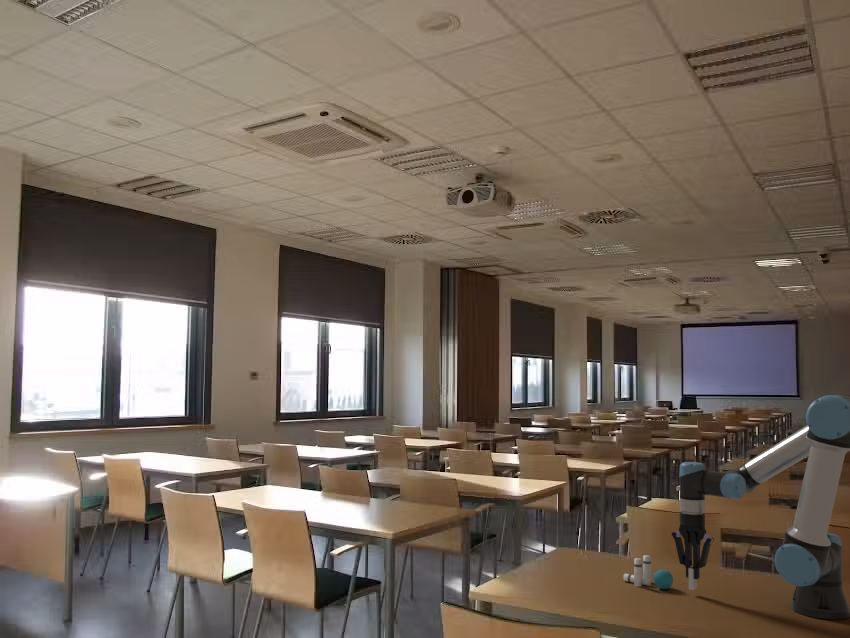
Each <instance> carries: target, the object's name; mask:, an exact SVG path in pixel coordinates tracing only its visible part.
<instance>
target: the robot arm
mask: <svg viewBox="0 0 850 638" xmlns="http://www.w3.org/2000/svg"><path fill="white" fill-rule="evenodd" d="M805 421H806V425H805V426H803V427H802V428H800V429H799V430H797V431H795V432H794V433H792V434H791V435H789V436H787V437H786V438H784V439H782V440H781V441H779V442H778V443H776V444H774V445H772V446H771V447H769V448H768V449H766V450H763V452H761V453H760V454H758V455H756V456H755V457H753V458H751V459H750V460H749V461H746V462H745V463H743V464H741V465H740V466H738V467H737V468H736V469H731V470H725V471H714V470H713V471H712V470H706V468H705V467H706V466H705V464H704V463H702V462H697V461H684V462H683V461H682V462H681V463H680V465H679V474H678V478H679V510H680V512H679V526H678V530H676V531H673V532H671V536H672V538H673V539H674V541H675V547H676V552H677V557H678V561H679V564H680V565H683V566H684V567H685V577H686V578H687V579H688V590H689V591H695V590H696V589H698V580H699V579H700V577H701V575H700V574H701V572H700V569H703V568H705V567H706V566H707V562H708V557H709V554H710V549H711V545H712V543H713V542H714V540H715V539H714V537H712V536H710V535H709V534H708V533H707V530H706V514H705V512H706V496H712V497H718V498H725V499H728V500H731V499H734V500H740V499H742V498H743V497H744V496H745V494H747V493H750V492H752V491H754V490H756V488H758V487H759V486H760V485H762V484H763V483H765V482H766V481H768V480H770V479H772V478H773V477H774V476H777V475H778V474H780V473H782V472H783V471H785V470H786V469H789V468H791V467H792V466H793V465H795V464H797V463H799V462H801V461H803V460H804V459H805V458H807V461H806V467H805V470H804V476H803V479H802V485H801V488H800V489H801V490H800V494H799V497H798V502H797V507H796V510H795V516H794V519H793V520H794V521H793V524H792V526H790V527H788V528H786V530H785V533H784V537H783V542H782V545H780V546H779V547H778V548H777V550H776V552H775V554H774V566H775V569H776V571H777V572H778V574H779V576H780V577H781V578H782V579H783V581H786V582H787V583H788V584H790V585H793V586H796V587H795V590H794V593H793V595H792V598H791V609H792V610H793V611H794V612H796V613H798V614H801V615H804V616H808V617H812V618H818V619H824V620H846V619H848V618H850V605H849V604H848V601H847V597H846V594H845V592H844V588H843V562H842V561H843V555H842V554H843V552H842V550H843V545H842V538H841V536H839V535H838V534H835V533H830V532H828V531H829V526H830V524H831V518H832V514H833V508H834V505H835V501H836V496H837V490H838V487H839V483H840V478H841V473H842V468H843V465H844V460H845V456H846V454H847V453H849V452H850V395H849V394H840V395H839V394H828V395H823V396H821V397H819V398H817V399H815V400H813V401H812V402H811V403H810V405H809V406H808V408H807V410H806V414H805ZM683 540H684V543H683ZM701 541H703V545H702V543H701ZM701 545H702V550H701Z"/></svg>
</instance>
